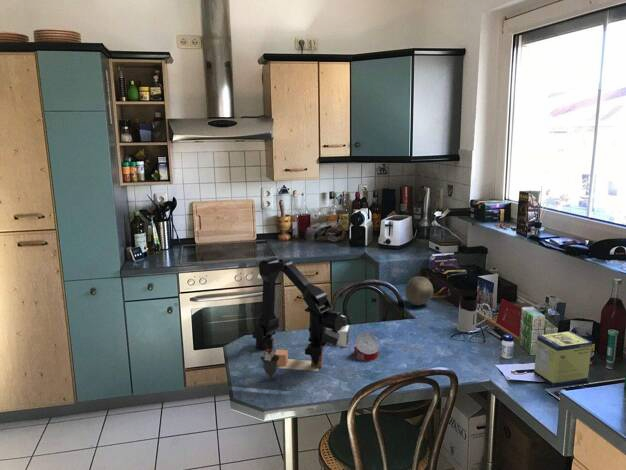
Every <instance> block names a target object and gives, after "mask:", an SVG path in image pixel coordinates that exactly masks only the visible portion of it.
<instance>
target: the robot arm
mask: <svg viewBox="0 0 626 470" xmlns="http://www.w3.org/2000/svg"><path fill="white" fill-rule="evenodd" d="M258 272H259V276H260V278H261V279H262V299H261V300H262V301H261V302H262V303H261V305H262V307H261V314H260V316H259V318H258V321H257V324H256V328H255V329H254V330H253V331H252V333H251V334H252V338H253V339H254V340H255V346H256V348H255V349H257V350H259V351H265V350H266V349H267V346H268V349H270V350H273V349H274V347H275V345H274V344H275V340H274V338H273V335H276V334H277V333H276V332H277V331H278V329H279V327H280V317H277V316H276V314H275V300H276V281H277V278H278V276H279V275H280V272H283V274H284V275H285V276H286V277H287V278H288V279H289V280H290V281H291V283H293V285H294V286H295V287H296V288H297V289H298V291H299V292H301V294H302V297H303V301H304V302H305V304H306V305H307V307H306V308H305V309H304V312H306V313H309V317H308V319H309V327H308V330H307V331H308V332H309V337H308V340H307V341H308V342H309V343H307V344H306V346H305V348H304V355H306V356H310V359H311V358H312V360H313V362H314V364H315V365H318V361H319V356H321V355H322V353H324V350H325V348H324V346H325V345H326V344H327V343H328V344H332V345H331V346H333V347H335V346H338V345H337V342H338V340H339V337H340V334H339V333H338V331H339V330H341V328H342V326H343V323H344V319H343V317H342V316H343V315H342V316H341V311H336V310H333V309H334V308H333V306H332V303H331V302H330V299H329V298H328V295H327V293H326V292H325V291H324V290H322V288H320V287H319V286H317V285H313V284H312V283H311V282H310V280H308V279H307V278H306V276H305V275H304V274H303V273H302V272H301V271H300V270H299V269H298V267H296V265H295V264H294V262H293V261H292V260H291V259H284V258H282V259H279V258H277V257H273V256H272V257H270V258H267V259H262V260H261V261H260V262H259V263H258ZM265 344H266V345H267V346H266V345H265Z"/></svg>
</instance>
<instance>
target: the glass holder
mask: <svg viewBox="0 0 626 470" xmlns="http://www.w3.org/2000/svg"><path fill="white" fill-rule="evenodd" d="M458 304H459V305H458V319H457V320H458V321H457V326H456V330H457V331H459V332H462V333H465V332H468V331H471V330H475V329H476V330H477V326H478V325H480V324H481V323H483V322H485V321H486V320H487V319H488V318H489V317H490V314H491V312H490V311H491V307H490V305H489V304H488V303H482V304H481V305H480V306H479V310H478V309H477V307H478V306H477V305H478V297H476V296H474V295H470V294H469V295H467V294H465V295H464V294H463V295H461V296H460V297H459V303H458ZM483 305H485V306H487V308H488V314H487V316H486V318H484V319H483V320H482V321H480V322H478V323H477V313H480V312H481V310H482V306H483Z"/></svg>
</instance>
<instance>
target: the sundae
mask: <svg viewBox="0 0 626 470" xmlns="http://www.w3.org/2000/svg"><path fill="white" fill-rule="evenodd" d="M265 345H266V344H265ZM266 346H267V345H266ZM260 360H261V361H262V363H263V369H264V372H265V374H266V375H268V382H273V381H274V380H273V375H274V374H275V373H276V372H277V369H278V368H277V361H278V360H279V356H278V355H277V354H275V351H273V349H271V350H270V349H268V346H267V349H266V350H264V352H263V355H261V357H260Z"/></svg>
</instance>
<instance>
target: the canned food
mask: <svg viewBox="0 0 626 470" xmlns="http://www.w3.org/2000/svg"><path fill="white" fill-rule="evenodd" d="M354 343H355V344H354V348H353V350H354V351H353V356H354V358H356V359H357V360H360V361H363V362H364V361H365V362H369V361H375V360H377V359H378V358H379V349H380V344H379V342H378V339H377V338H376V337H375V335H374V334H372V333H371V332H367V331H366V332H362V333H361V334H359V335H357V336H356V338H355V342H354Z"/></svg>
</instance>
